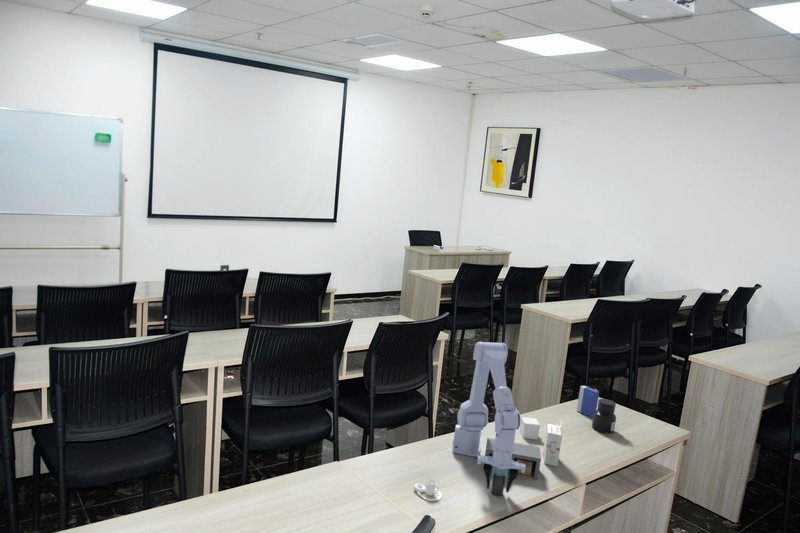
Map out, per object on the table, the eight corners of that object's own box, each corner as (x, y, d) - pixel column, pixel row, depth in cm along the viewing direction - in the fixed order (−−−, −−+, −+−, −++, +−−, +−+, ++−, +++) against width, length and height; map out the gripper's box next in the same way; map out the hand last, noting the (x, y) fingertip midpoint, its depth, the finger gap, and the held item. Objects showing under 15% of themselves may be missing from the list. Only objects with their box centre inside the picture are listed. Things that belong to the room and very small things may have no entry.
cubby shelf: (483, 468, 197) (486, 448, 196) (484, 457, 206) (487, 437, 205) (537, 479, 194) (540, 458, 193) (536, 466, 203) (539, 447, 202)
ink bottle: (617, 435, 238) (622, 407, 237) (595, 433, 238) (600, 405, 237) (609, 425, 248) (613, 398, 246) (588, 423, 248) (592, 396, 246)
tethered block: (488, 494, 181) (491, 476, 180) (492, 471, 196) (494, 454, 195) (504, 497, 180) (507, 479, 179) (507, 474, 195) (509, 457, 194)
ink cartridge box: (542, 453, 214) (548, 415, 212) (556, 456, 213) (562, 417, 211) (543, 464, 206) (549, 424, 203) (557, 466, 205) (564, 427, 203)
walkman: (595, 416, 257) (599, 390, 255) (591, 417, 255) (596, 391, 253) (579, 410, 263) (583, 384, 261) (576, 411, 261) (580, 385, 259)
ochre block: (515, 472, 197) (517, 459, 197) (515, 465, 202) (516, 453, 202) (530, 474, 197) (532, 462, 196) (529, 468, 202) (531, 455, 201)
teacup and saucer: (409, 490, 179) (410, 478, 178) (429, 484, 183) (431, 472, 183) (427, 504, 172) (429, 491, 171) (447, 498, 177) (449, 485, 176)
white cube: (534, 432, 232) (536, 418, 231) (538, 439, 226) (540, 424, 225) (519, 431, 232) (521, 417, 231) (522, 438, 226) (524, 423, 225)
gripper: (479, 449, 177) (473, 490, 179) (527, 458, 174) (521, 500, 176) (480, 439, 184) (474, 479, 186) (527, 448, 181) (521, 488, 183)
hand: (497, 489), depth 181 cm, fingers open, 5 cm apart
